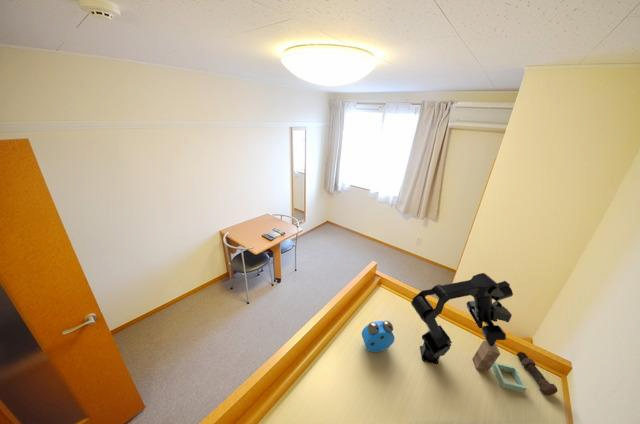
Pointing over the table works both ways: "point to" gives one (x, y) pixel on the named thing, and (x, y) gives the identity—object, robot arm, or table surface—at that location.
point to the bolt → (537, 375)
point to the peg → (485, 356)
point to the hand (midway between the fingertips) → (485, 336)
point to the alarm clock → (378, 336)
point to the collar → (520, 384)
